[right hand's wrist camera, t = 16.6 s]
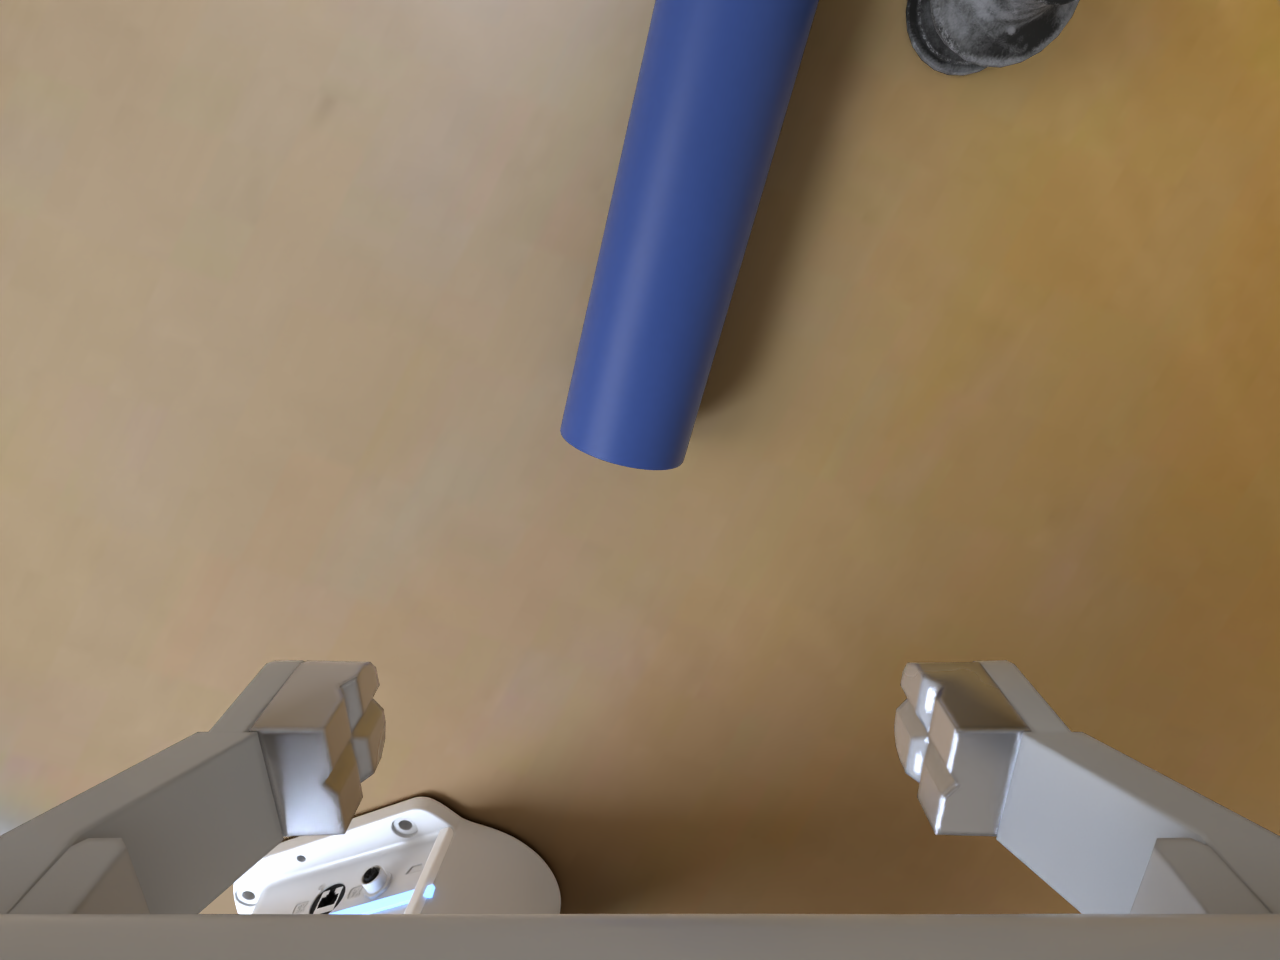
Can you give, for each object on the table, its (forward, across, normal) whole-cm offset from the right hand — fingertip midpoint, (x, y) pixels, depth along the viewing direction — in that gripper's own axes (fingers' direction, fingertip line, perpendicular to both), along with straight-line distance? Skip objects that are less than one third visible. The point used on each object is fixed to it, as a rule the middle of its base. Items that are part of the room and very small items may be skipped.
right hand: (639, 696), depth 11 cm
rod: (+26, -2, -8) cm, 27 cm away
